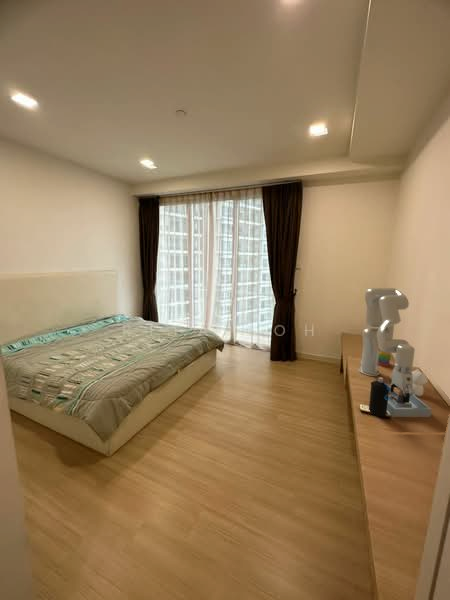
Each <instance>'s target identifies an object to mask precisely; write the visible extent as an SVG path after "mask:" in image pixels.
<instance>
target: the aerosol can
mask: <svg viewBox="0 0 450 600" xmlns="http://www.w3.org/2000/svg"><path fill="white" fill-rule="evenodd" d="M390 387H391V386H389V385H388V383H386V382H385V381H384V378H383V377H382V376H381V377H380V376H379V377H378V380H374V381H371V382H370V394H369V404H368V411H369V410H370V411H369V412H370V414H372V415H374V416H376V417H382V418H383V417H386V416H387V412H388V411H387V403H388V395H389V389H390Z"/></svg>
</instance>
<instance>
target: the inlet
mask: <svg viewBox="0 0 450 600" xmlns="http://www.w3.org/2000/svg"><path fill="white" fill-rule="evenodd" d="M388 401H389V402H390V403H391V404H392V405H393V406H394V407H395V408H412V404H411V403H410V402H409V403H397V402H396V401H395V400H394V399H393V395H388Z"/></svg>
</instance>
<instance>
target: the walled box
mask: <svg viewBox="0 0 450 600" xmlns="http://www.w3.org/2000/svg"><path fill="white" fill-rule="evenodd" d="M389 387H390V389H389V395H393V392H391V391H390V390H391V386H389ZM405 390H407V389H405ZM406 394H407V393H406ZM409 402H410V403H411V404H412V408H395V407H394V406H393V405H392V404H391V403H390V402H389V401H388V403H387V412H388V413H389V414H390V415H391V416H392V418H393V417H394V418H431V416H432V408H431V407H430V406H429V405H427V404H426V403H425V402H424V401H422V400H421V399H420V398H418V396H415V395H414V394H413V395H412V396H410V399H409Z"/></svg>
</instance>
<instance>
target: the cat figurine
mask: <svg viewBox="0 0 450 600" xmlns="http://www.w3.org/2000/svg"><path fill="white" fill-rule="evenodd" d="M412 375H413V388H412V390H413V392H414V395H415V396H416V397H421V396H423V395H424V391H425V390H424V389H425V388H424V386H423V385H425V384H427V382H428V378H427V375H425V374H424V373H423V371H420V368H416V369H415V370H412Z"/></svg>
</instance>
